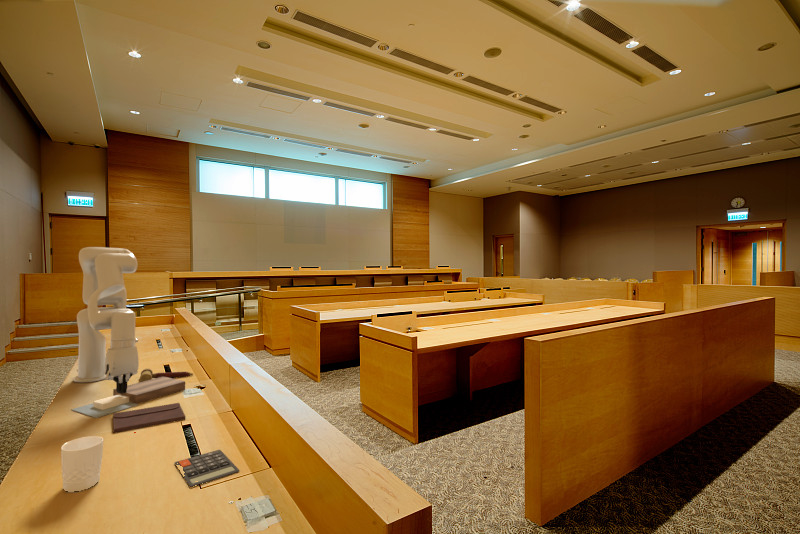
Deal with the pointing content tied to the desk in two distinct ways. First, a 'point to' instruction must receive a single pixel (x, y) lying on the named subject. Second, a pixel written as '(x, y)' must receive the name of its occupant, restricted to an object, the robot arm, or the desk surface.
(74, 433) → the desk surface
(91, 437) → the white cup
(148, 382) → the brown wooden board
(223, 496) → the desk surface
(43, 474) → the desk surface
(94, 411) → the mat
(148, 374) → the gavel
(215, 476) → the calculator
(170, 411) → the notebook
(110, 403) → the cream flat block
